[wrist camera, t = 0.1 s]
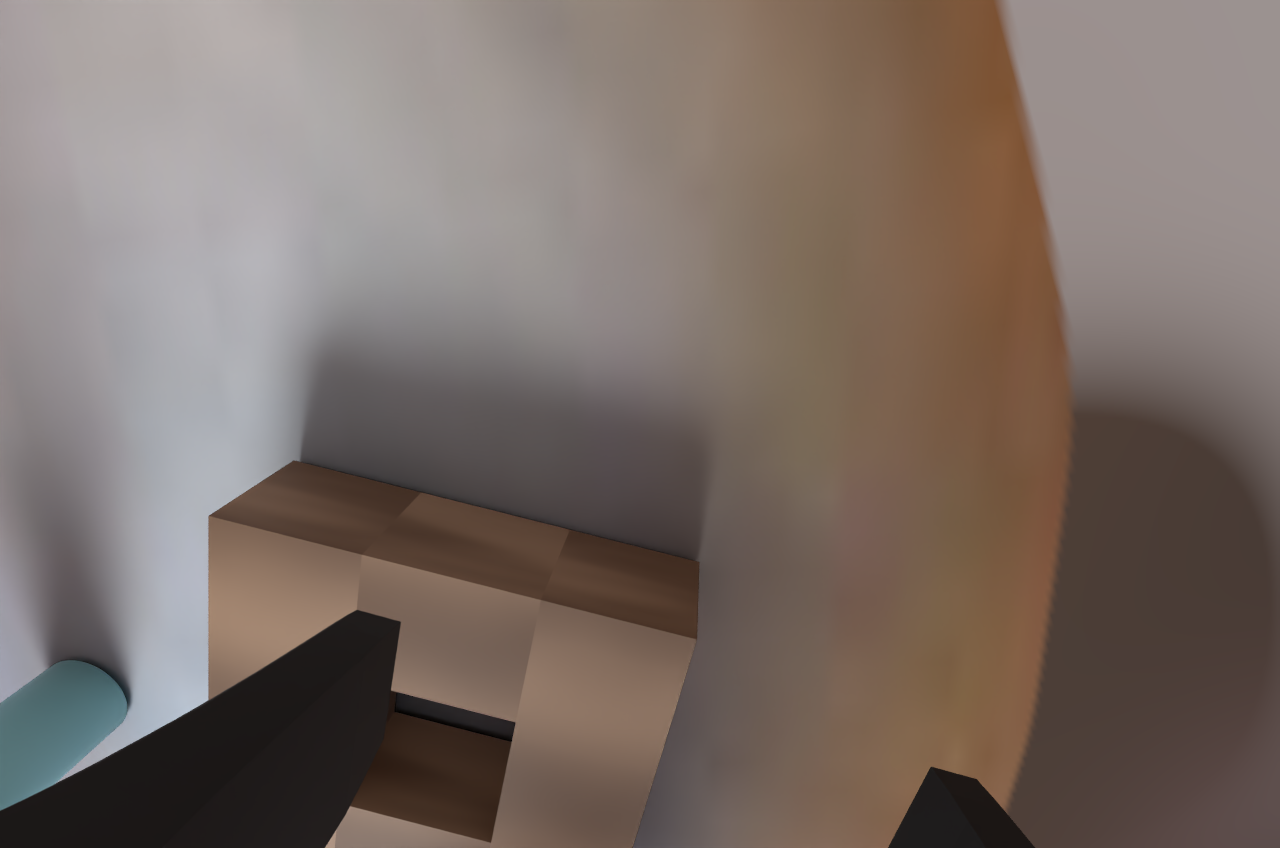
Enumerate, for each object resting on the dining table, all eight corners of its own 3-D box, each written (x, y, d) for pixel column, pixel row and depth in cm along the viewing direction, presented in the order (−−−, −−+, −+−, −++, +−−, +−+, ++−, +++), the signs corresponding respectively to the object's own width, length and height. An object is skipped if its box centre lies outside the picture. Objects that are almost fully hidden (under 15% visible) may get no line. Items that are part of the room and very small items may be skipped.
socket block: (612, 855, 23) (596, 964, 20) (279, 768, 23) (208, 862, 20) (699, 562, 19) (696, 639, 16) (293, 460, 19) (208, 515, 16)
